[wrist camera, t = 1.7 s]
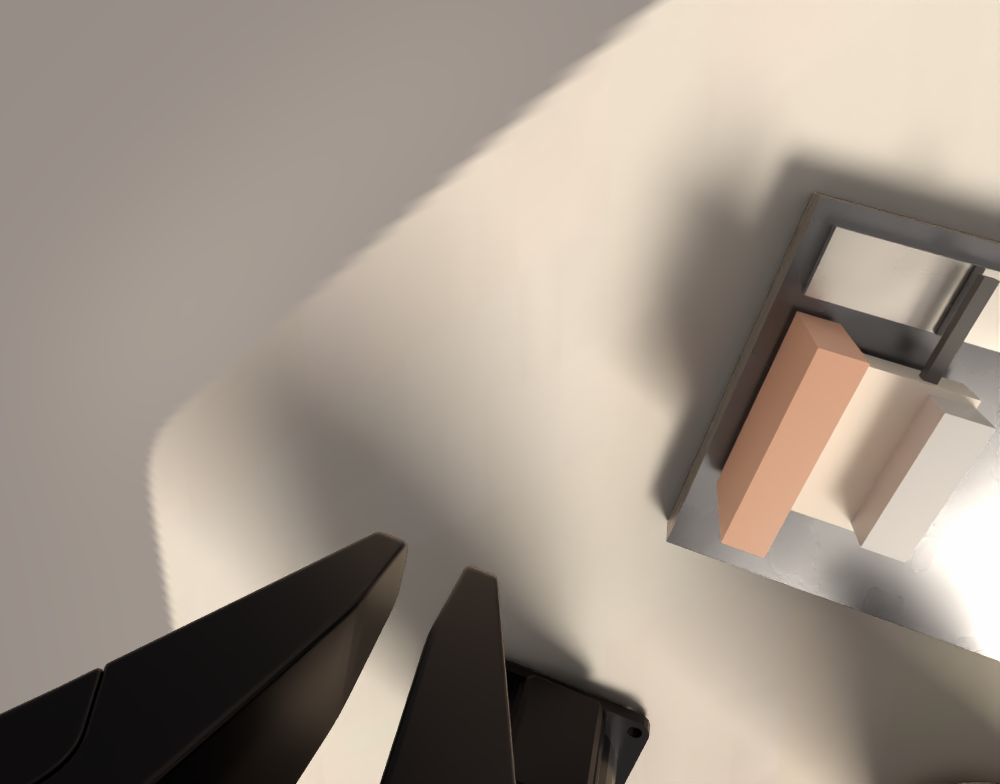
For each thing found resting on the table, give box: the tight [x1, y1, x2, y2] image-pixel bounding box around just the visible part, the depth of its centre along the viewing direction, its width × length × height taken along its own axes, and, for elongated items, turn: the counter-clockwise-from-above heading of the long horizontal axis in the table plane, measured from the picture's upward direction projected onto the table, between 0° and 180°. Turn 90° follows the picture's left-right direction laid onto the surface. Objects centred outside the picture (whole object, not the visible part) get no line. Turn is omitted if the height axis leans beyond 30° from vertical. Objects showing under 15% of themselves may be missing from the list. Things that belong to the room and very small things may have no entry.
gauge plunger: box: [716, 274, 1000, 563], centre depth 14 cm, size 7×4×3 cm, turn 167°
